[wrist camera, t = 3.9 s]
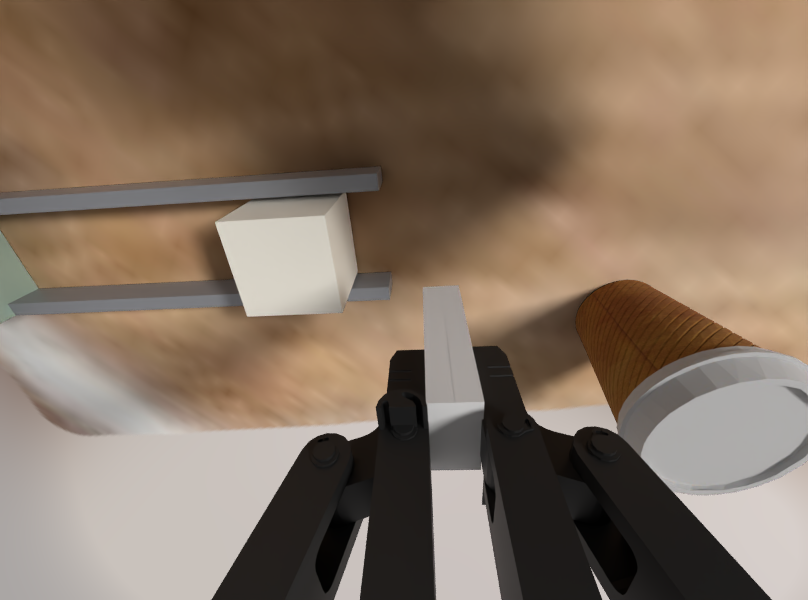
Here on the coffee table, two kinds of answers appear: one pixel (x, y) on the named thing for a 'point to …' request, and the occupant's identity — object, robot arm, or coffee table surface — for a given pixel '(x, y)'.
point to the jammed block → (291, 254)
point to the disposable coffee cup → (694, 392)
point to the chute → (19, 295)
